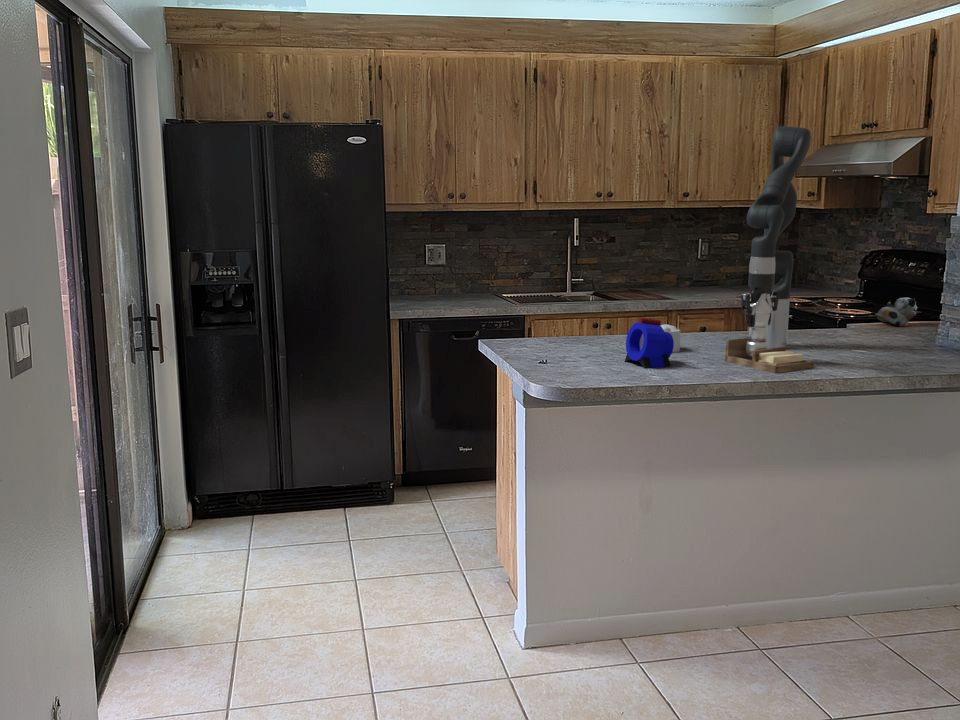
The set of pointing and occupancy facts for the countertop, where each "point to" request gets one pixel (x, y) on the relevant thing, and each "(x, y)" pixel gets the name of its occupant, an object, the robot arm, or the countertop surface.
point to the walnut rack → (740, 357)
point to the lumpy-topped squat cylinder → (673, 335)
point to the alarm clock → (649, 344)
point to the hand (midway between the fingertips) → (758, 325)
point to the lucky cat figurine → (898, 312)
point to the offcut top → (780, 357)
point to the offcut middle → (779, 363)
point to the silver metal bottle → (759, 328)
